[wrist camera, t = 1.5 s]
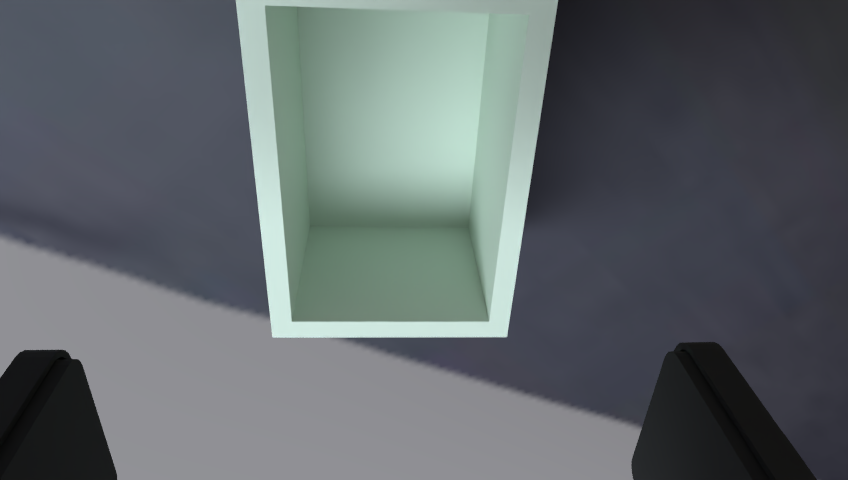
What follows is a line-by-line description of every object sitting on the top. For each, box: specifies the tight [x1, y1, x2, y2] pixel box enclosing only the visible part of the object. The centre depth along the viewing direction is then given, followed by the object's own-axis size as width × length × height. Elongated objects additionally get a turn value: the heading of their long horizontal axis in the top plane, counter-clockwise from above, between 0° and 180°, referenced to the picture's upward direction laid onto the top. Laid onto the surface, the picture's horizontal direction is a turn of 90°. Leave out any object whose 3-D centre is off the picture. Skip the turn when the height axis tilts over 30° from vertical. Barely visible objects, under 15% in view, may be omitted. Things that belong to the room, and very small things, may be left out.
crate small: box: [236, 0, 558, 337], centre depth 19 cm, size 7×10×6 cm
